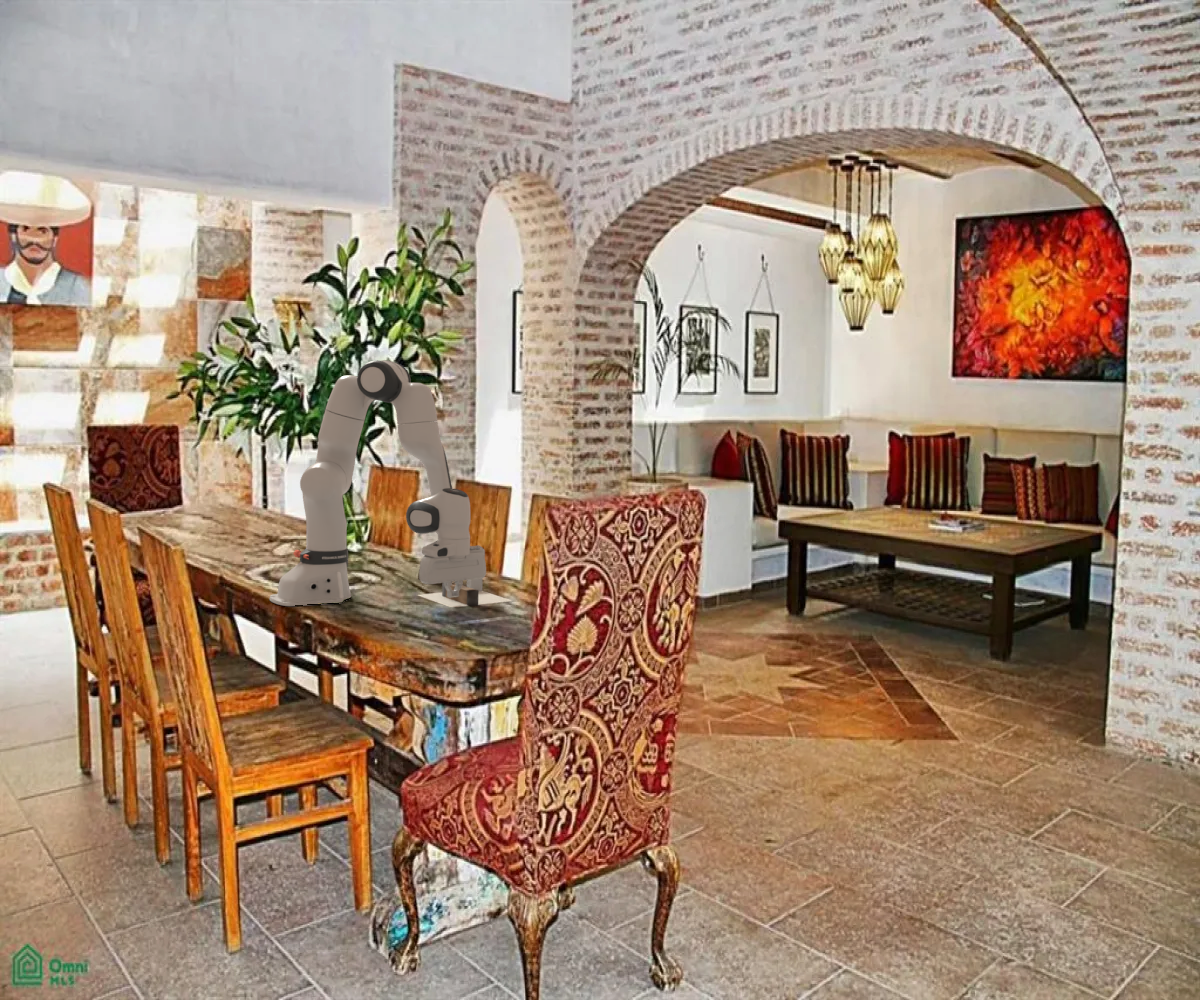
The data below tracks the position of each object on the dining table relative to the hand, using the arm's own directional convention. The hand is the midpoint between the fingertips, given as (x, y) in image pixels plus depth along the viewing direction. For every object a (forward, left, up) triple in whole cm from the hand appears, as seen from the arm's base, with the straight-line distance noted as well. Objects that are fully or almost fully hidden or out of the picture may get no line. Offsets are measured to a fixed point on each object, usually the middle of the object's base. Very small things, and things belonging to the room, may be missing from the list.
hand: (453, 596), depth 311 cm
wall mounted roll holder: (+8, +7, -3) cm, 11 cm away
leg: (+5, +3, -2) cm, 6 cm away
